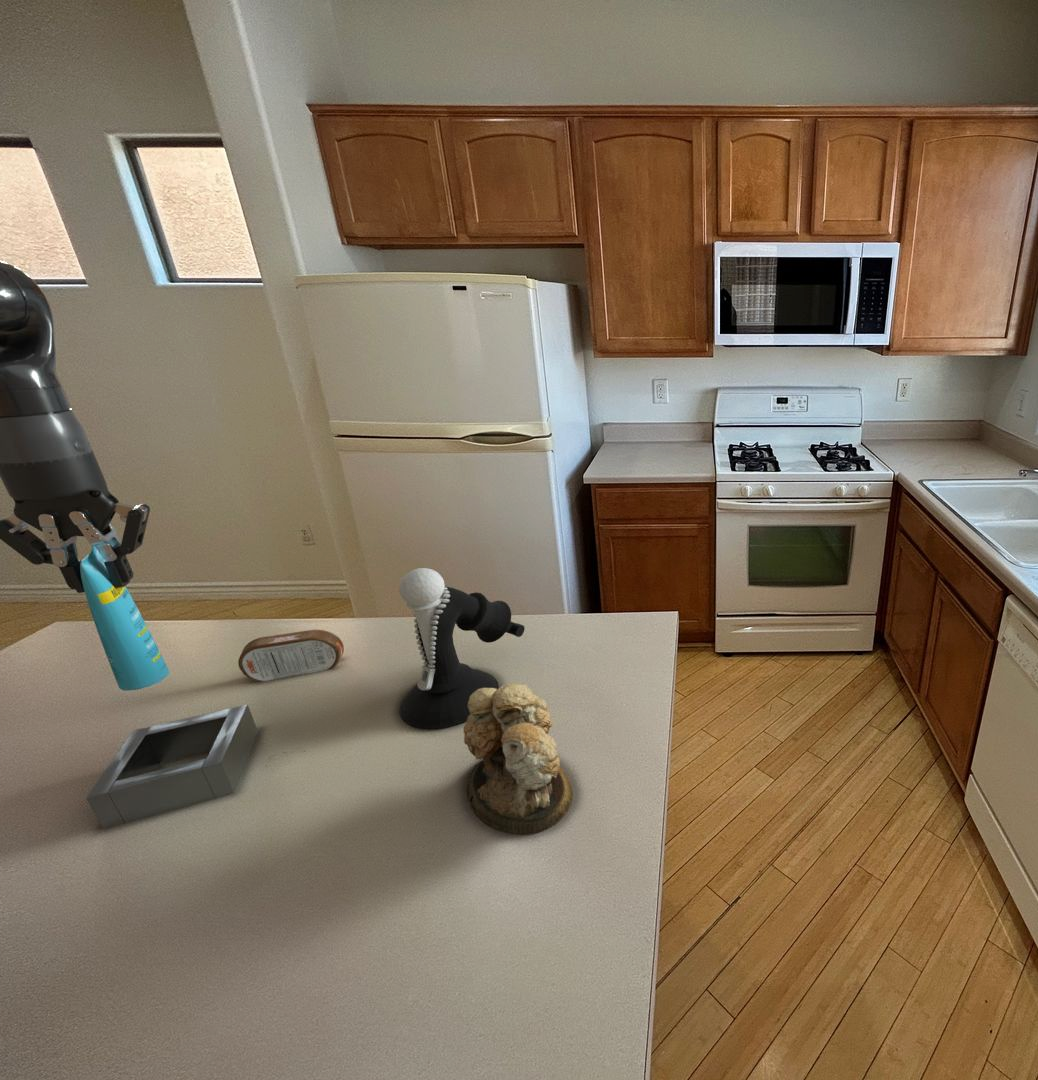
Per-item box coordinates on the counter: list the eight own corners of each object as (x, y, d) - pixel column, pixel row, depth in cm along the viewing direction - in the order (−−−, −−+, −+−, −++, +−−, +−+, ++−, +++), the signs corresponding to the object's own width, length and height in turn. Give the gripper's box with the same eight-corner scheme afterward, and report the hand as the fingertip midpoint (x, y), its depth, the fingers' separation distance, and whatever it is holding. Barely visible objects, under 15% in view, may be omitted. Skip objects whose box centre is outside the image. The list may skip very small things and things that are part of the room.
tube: (169, 686, 73) (112, 554, 66) (117, 701, 70) (51, 565, 63) (170, 661, 79) (117, 536, 71) (121, 674, 75) (61, 545, 68)
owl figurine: (440, 790, 76) (416, 689, 69) (513, 740, 85) (497, 646, 78) (523, 859, 67) (504, 750, 60) (595, 794, 76) (585, 693, 69)
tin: (349, 662, 103) (337, 623, 100) (345, 671, 100) (333, 632, 97) (251, 679, 98) (235, 639, 95) (244, 690, 95) (228, 649, 92)
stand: (105, 833, 69) (85, 798, 67) (149, 762, 80) (132, 730, 78) (235, 797, 75) (220, 763, 72) (260, 735, 85) (247, 704, 83)
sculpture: (381, 712, 90) (342, 575, 81) (498, 643, 109) (478, 526, 100) (440, 746, 84) (406, 601, 74) (554, 666, 103) (539, 543, 93)
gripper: (140, 441, 69) (188, 566, 75) (-23, 450, 63) (44, 584, 69) (110, 454, 62) (165, 590, 69) (-74, 466, 57) (6, 612, 63)
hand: (104, 586), depth 69 cm, fingers closed on tube, 3 cm apart
